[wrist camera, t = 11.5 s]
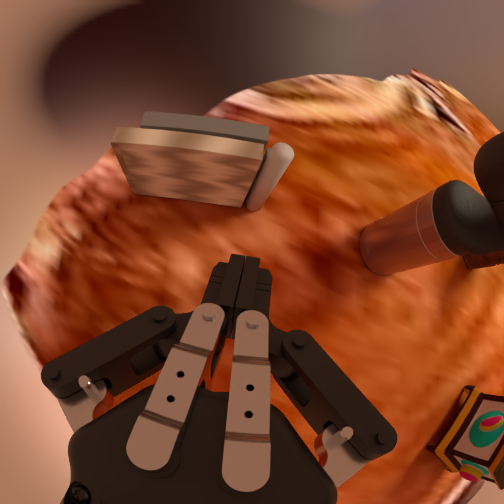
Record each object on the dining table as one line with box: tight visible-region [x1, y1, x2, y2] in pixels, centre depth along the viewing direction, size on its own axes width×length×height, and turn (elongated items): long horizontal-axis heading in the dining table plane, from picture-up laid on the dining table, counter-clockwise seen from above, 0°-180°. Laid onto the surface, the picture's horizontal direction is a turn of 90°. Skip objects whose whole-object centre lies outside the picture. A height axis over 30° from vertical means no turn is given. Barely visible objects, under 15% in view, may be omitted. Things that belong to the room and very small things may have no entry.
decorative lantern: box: [426, 385, 504, 490], centre depth 27 cm, size 20×20×30 cm
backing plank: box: [140, 112, 294, 212], centre depth 34 cm, size 17×5×15 cm, turn 85°
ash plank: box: [111, 127, 264, 208], centre depth 33 cm, size 16×2×14 cm, turn 85°
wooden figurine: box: [463, 251, 504, 269], centre depth 42 cm, size 12×6×18 cm, turn 119°
